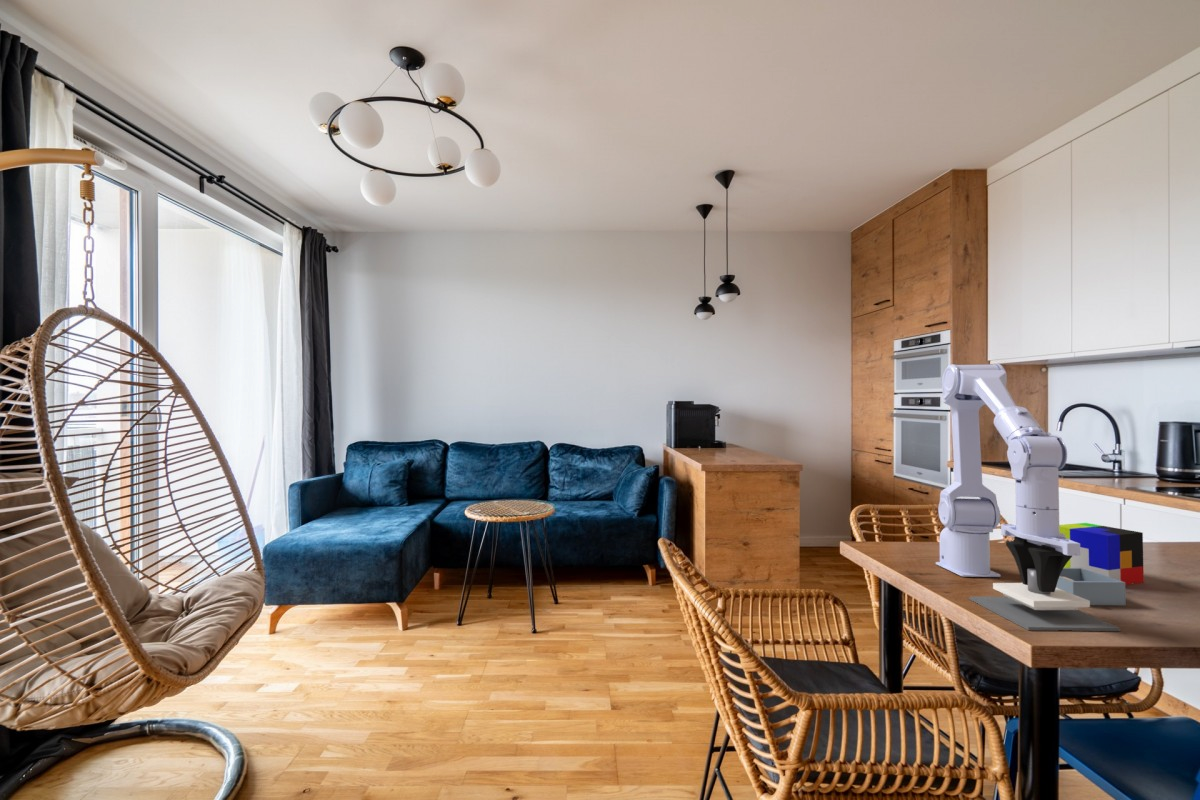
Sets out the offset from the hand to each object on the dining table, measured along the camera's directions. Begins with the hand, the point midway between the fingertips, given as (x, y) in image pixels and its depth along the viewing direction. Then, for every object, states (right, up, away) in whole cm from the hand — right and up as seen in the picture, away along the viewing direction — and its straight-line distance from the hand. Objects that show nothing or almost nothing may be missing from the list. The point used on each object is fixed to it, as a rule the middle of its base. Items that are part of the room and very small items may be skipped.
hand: (1038, 587), depth 92 cm
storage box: (+14, -5, +9) cm, 17 cm away
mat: (0, -4, 0) cm, 4 cm away
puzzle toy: (+29, -5, +20) cm, 35 cm away
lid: (0, -2, 0) cm, 2 cm away
